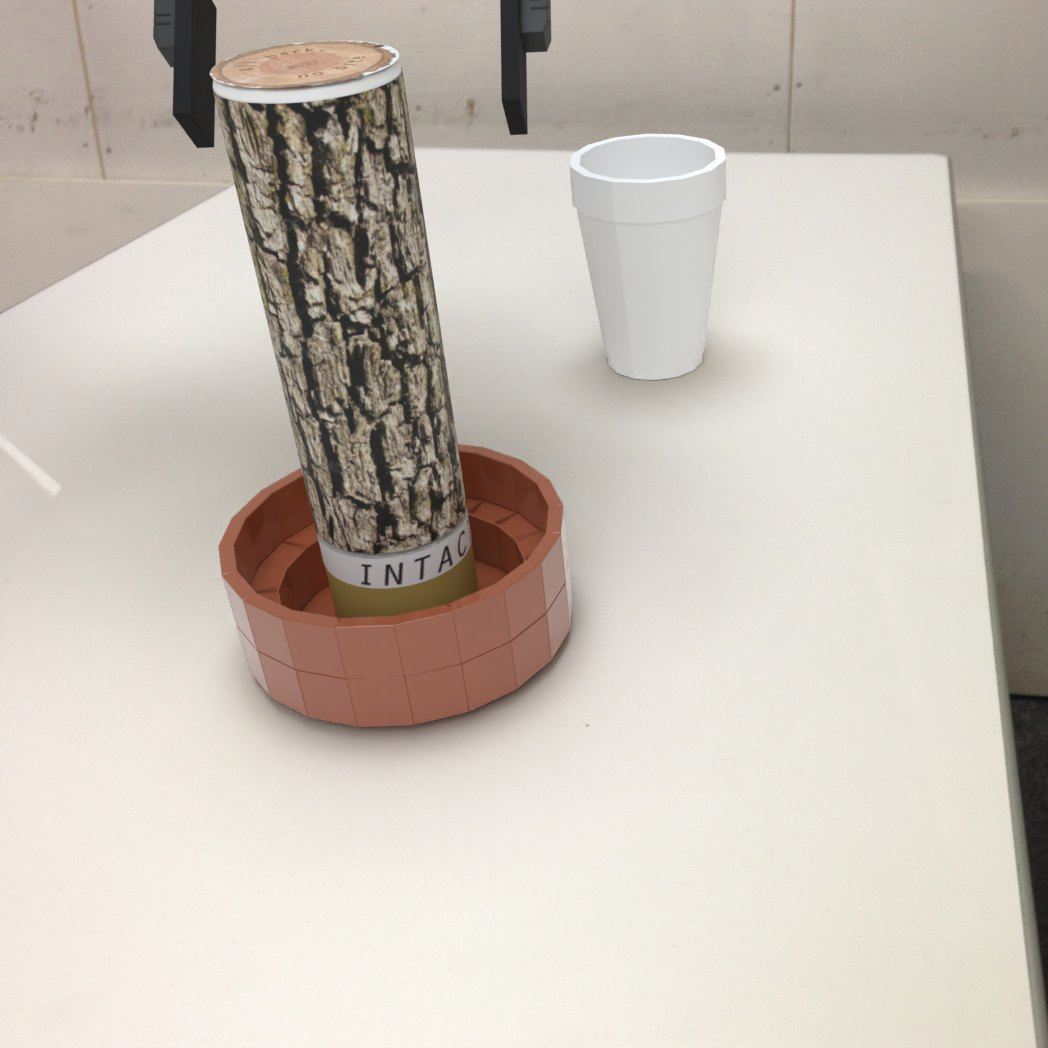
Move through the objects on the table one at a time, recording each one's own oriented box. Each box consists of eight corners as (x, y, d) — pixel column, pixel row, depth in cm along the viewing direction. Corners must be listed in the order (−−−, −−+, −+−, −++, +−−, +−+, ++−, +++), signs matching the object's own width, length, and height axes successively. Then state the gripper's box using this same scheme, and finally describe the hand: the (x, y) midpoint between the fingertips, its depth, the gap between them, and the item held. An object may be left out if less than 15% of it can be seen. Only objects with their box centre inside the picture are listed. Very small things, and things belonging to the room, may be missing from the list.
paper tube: (312, 620, 62) (175, 67, 46) (428, 562, 65) (335, 31, 50) (392, 682, 58) (270, 99, 42) (511, 617, 61) (437, 57, 46)
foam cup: (738, 333, 87) (738, 135, 79) (713, 395, 80) (711, 185, 72) (603, 325, 89) (590, 132, 81) (567, 385, 82) (549, 179, 74)
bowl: (212, 743, 56) (176, 633, 52) (289, 548, 68) (263, 448, 64) (565, 731, 55) (553, 619, 52) (578, 537, 68) (569, 436, 64)
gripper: (639, -269, 60) (652, 157, 57) (113, -243, 61) (101, 180, 58) (633, -422, 53) (647, 60, 50) (34, -390, 53) (15, 87, 50)
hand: (353, 125), depth 54 cm, fingers open, 13 cm apart
